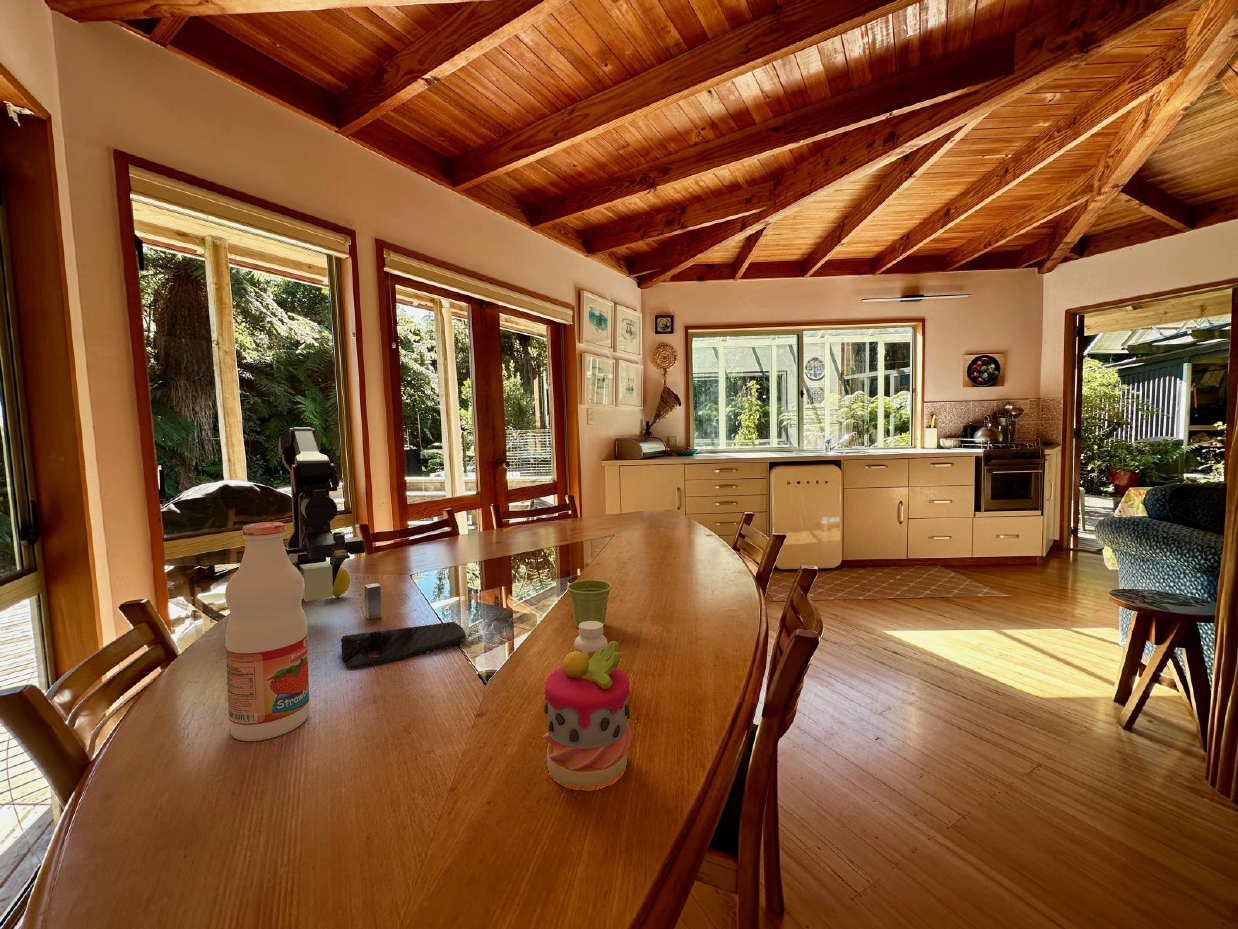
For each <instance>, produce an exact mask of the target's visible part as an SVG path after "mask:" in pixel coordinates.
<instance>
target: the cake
mask: <svg viewBox="0 0 1238 929" xmlns="http://www.w3.org/2000/svg"><path fill="white" fill-rule="evenodd" d="M607 644H608V645H607V647H606V649H605V650H604V651H603V650H601V649H599V650H598V651H597V652H596V653H595V654H594V655H593V657H592V658H591V659H590V660H589V661H588V659H587V657H586V656H585V654H583V653H581V652H579V651H571V652H570V653H567V655H566V656H565V657H564V659H563V663H562V666H560V667H559V668H556V669H555V670H554V671H552V672H551V673H550V674H549V675H548V676H547V678H546V679H545V683H544V685H545V686H544V701H546V703H545V705H544V710H543V711H544V712H543V713H544V715H545V714H546V730H547V732H546V733H545V734H544V735H543V736H542V737H541V738H542V739H543V740H544V741H546V742H547V743H548V745H547V748H546V756H547V757H546V767H547V766H548V769H547V772H548V771H549V773H550V774H551V776H552V777H553V778H554V779H556V780H558V781H560V782H562V783H563V784H568V785H573V786H583V787H587V786H594V785H598V784H603V783H605V782H607V781H609V780H613V779H614V778H615V777H617V776H618V775H619V774H620V773H622V772H623V770H624V768H625V767H626V765H627V766H628V751H629V749H630V747H631V744H632V743H631V742H632V738H633V733H632V730H631V727H630V724H629V722H628V720H629V719H631V716H630V706H629V704H628V696H630V691H631V690H630V679H629V677H628V676H627V674H626V673H625V671H623V670H622V669H620V668H619V667H618V666H619V665H620V661H621V653H620V652H619V651H620V644H619V643H618V642H617V641H615V640H611V641H610V642H609V643H607Z"/></svg>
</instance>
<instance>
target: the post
mask: <svg viewBox="0 0 1238 929" xmlns="http://www.w3.org/2000/svg"><path fill="white" fill-rule="evenodd" d="M381 587H382V585H380V584H379V583H378V582H376V583H370V584H365V585H364V611H365V612H364V614H365V616H364V617H365V618H366V619H367V620H369V621H371V620H374V619H379V618H382V595H381V594H382V593H381V590H382V588H381Z"/></svg>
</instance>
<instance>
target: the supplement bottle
mask: <svg viewBox="0 0 1238 929" xmlns="http://www.w3.org/2000/svg"><path fill="white" fill-rule="evenodd" d="M608 644H609V643H608V639H607V638H606V637H605V636H604V627H603V624H602V623H601V622H597V621H586V622H582V623H580V624H579V629H578V636H577V637H576V638H575V639H574V651H579V652H581V653H583V654H585V656H586V657H587V659H588V661H589V660H590V659H591V658H592V657H593V655H594V654H595V653H596V652H597V651H598V650H599V649H601V650H603V651H604V650H605V649H606V647H607V645H608ZM574 651H573V652H574Z"/></svg>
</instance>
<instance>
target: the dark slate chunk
mask: <svg viewBox="0 0 1238 929" xmlns="http://www.w3.org/2000/svg"><path fill="white" fill-rule="evenodd" d="M466 637H467V634H466V631H465V630H464V628H463V627H462V626H461V625H459V624H458V623H456V622H455V621H448V622H441V623H435V624H425V625H417V626H409V627H408V626H407V627H400V628H392V629H384V630H376V631H368V632H361V633H354V634H347V635H343V636H342V637H341V638H340V642H341V644H340V645H341V661H342V663H344V666H346V668H347V669H351V670H353V669H354V670H355V669H360V668H361V667H365V666H371V665H373V666H374V665H380V664H385V663H388V662H393V661H397V660H402V659H404V658H408V657H413V656H418V655H421V654H427V653H432V652H434V651H435V652H436V651H441V650H444V649H447V648H450V647H453V646H456V645H457V644H460V643H463V642H464V641H465V640H466ZM370 652H372V653H373V652H378V656H377V655H376V656H370V655H369V654H370Z"/></svg>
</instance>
